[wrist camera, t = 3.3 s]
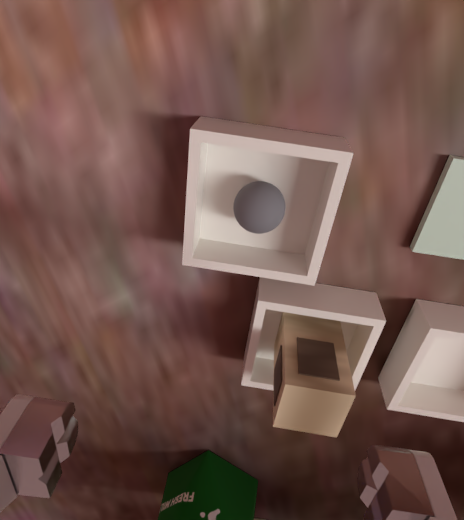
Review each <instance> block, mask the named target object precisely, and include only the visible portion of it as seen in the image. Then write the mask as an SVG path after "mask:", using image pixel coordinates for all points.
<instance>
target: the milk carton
mask: <svg viewBox="0 0 464 520" xmlns="http://www.w3.org/2000/svg"><path fill="white" fill-rule="evenodd" d="M257 486H258V480H257V479H255V478H253V477H252V476H250V475H248V474H247V473H245V472H243V471H242V470H240V469H239V468H237V467H235V466H234V465H232V464H230V463H229V462H227V461H225V460H224V459H222V458H221V457H219V456H217V455H216V454H214V453H212V452H211V451H209V450H208V451H206V452H204V453H203V454H201V455H199V456H197V457H196V458H194V459H192V460H190V461H189V462H187V463H185V464H184V465H182V466H180V467H178V468H177V469H175V470H173V471H171V472H170V473H168V478H167V482H166V487H165V491H164V495H163V499H162V504H161V508H160V512H159V517H158V520H254V513H255V504H256V495H257Z"/></svg>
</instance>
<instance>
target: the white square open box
mask: <svg viewBox="0 0 464 520" xmlns="http://www.w3.org/2000/svg"><path fill="white" fill-rule="evenodd" d="M353 154H354V153H353V151H352V149H351V148H350V146H349V144H348V142H347V141H346V139H345V138H344V137H338V136H331V135H324V134H317V133H311V132H304V131H297V130H291V129H284V128H277V127H270V126H264V125H257V124H250V123H243V122H237V121H230V120H223V119H217V118H210V117H203V116H200V117H199V119H198V120H197V121H196V122H195V123H194V124H193V126H192V127H191V128H190V139H189V156H188V173H187V190H186V208H185V225H184V242H183V259H182V265H187V266H193V267H200V268H206V269H212V270H218V271H225V272H231V273H237V274H244V275H250V276H256V277H263V278H269V279H275V280H281V281H288V282H294V283H300V284H307V285H313V286H315V283H316V279H317V276H318V272H319V269H320V266H321V262H322V259H323V255H324V252H325V249H326V245H327V242H328V238H329V235H330V232H331V228H332V225H333V221H334V218H335V215H336V211H337V208H338V204H339V201H340V198H341V194H342V191H343V187H344V184H345V181H346V177H347V174H348V171H349V167H350V164H351V160H352V157H353ZM255 181H264V182H268V183H271V184H273V185H274V186H276V187H277V188H278V189H279V190H280V192H281V193H282V195H283V197H284V200H285V205H286V209H285V214H284V217H283V219H282V221H281V223H280V224H279V225H278V226H277V227H276V228H275V229H273V230H272V231H269V232H267V233H262V234H257V233H252V232H249V231H247V230H245V229H244V228H243V227H241V226H240V225H239V223H238V222H237V220H236V218H235V215H234V210H233V205H234V200H235V197H236V195H237V193H238V192H239V191H240V190H241V188H243V187H244V186H245V185H247V184H249V183H251V182H255Z"/></svg>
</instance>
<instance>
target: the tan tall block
mask: <svg viewBox="0 0 464 520" xmlns="http://www.w3.org/2000/svg"><path fill="white" fill-rule="evenodd" d="M355 397H356V395H355V390H354V385H353V380H352V375H351V371H350V366H349V361H348V356H347V351H346V346H345V341H344V337H343V332H342V327H341V322H340V321H336V320H330V319H324V318H318V317H312V316H305V315H299V314H293V313H287V312H282V316H281V320H280V324H279V328H278V332H277V336H276V340H275V344H274V383H273V427H277V428H283V429H289V430H295V431H301V432H307V433H313V434H319V435H325V436H331V437H337V436H338V434H339V432H340V429H341V427H342V425H343V423H344V421H345V418H346V416H347V414H348V412H349V410H350V407H351V405H352V403H353V401H354V399H355Z"/></svg>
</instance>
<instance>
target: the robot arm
mask: <svg viewBox="0 0 464 520" xmlns="http://www.w3.org/2000/svg"><path fill="white" fill-rule="evenodd" d="M74 412H75V406H74V403H73V402H66V401H59V400H52V399H46V398H39V397H34V396H27V395H20V394H17V395H16V396H14V397H13V398H12V399H11V400H10V401H9V403H8V404H7V406H6V407H5V408H4V410H3V411H2V413H1V414H0V512H1V511H2V510H3V509H4V508H6V507H7V506H8V505H9V504H10V503H11V502H12V501H13V500H14V499H15V498H17V495H25V496H34V497H42V498H50V497H51V495H52V493H53V491H54V489H55V487H56V484H57V482H58V480H59V478H60V476H61V474H62V470H61V465H60V463H61V462H63V461H64V460H65V459H66V458H68V457H69V456H70V454H71V452H72V450H73V447H74V445H75V442H76V438H77V434H78V422H77V420H76V419H75V418H74V417H73V414H74ZM367 456H368V458H367V459H365V460H363V461H362V462H361V464H360V466H359V468H358V477H357V481H358V490H359V496H360V499H361V500H362V501H363V502H364V504H365V505H366V506H367V509H366V511H365V513H364V516H363V517H364V520H457V517H456V515H455V512H454V510H453V507H452V505H451V502H450V499H449V497H448V494H447V492H446V489H445V487H444V484H443V481H442V479H441V476H440V474H439V471H438V469H437V466H436V463H435V461H434V458H433V457H432V456H431V454H430V453H428V452H423V451H415V450H408V449H404V448H396V447H388V446H379V445H371V446H369V448H368V450H367Z"/></svg>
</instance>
